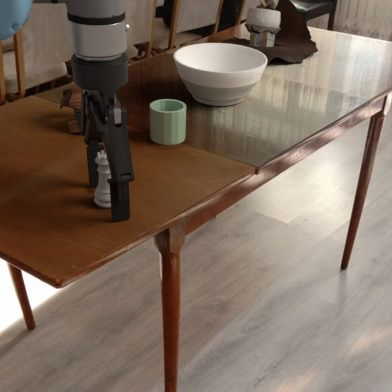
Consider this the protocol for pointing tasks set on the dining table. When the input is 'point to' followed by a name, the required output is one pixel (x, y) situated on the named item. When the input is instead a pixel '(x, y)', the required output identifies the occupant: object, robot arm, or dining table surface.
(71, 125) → the pottery mug
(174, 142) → the green cylindrical cup
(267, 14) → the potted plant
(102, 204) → the rook chess piece
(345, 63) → the dining table surface
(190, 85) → the bowl
